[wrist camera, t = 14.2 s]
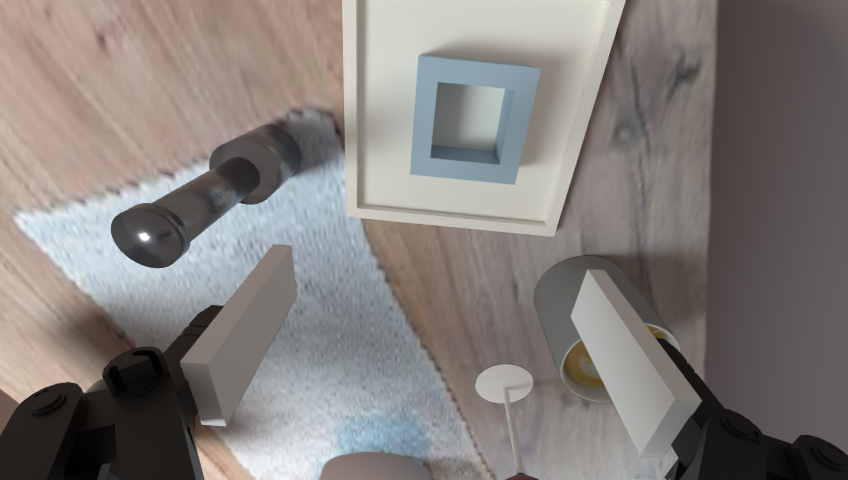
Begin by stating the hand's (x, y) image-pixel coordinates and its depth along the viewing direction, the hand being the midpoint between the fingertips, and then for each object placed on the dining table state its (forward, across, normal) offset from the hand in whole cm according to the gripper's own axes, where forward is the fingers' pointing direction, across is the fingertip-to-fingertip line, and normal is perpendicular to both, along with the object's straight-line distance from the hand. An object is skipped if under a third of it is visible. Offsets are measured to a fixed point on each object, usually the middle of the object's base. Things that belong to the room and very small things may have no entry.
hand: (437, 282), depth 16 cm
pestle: (+19, -15, -1) cm, 24 cm away
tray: (+19, +2, +4) cm, 19 cm away
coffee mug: (+19, +18, -15) cm, 30 cm away
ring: (+18, +2, +4) cm, 19 cm away
